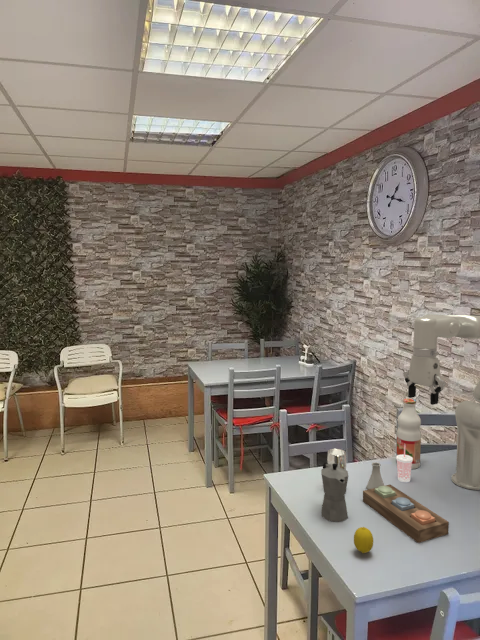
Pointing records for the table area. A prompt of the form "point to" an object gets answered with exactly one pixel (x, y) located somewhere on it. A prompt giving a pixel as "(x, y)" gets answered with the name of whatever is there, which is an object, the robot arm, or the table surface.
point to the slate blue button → (402, 504)
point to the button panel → (406, 516)
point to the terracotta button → (423, 517)
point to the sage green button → (385, 491)
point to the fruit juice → (409, 432)
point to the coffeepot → (334, 492)
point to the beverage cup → (404, 467)
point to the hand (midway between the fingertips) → (422, 400)
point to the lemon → (363, 540)
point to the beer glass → (337, 458)
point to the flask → (375, 477)
